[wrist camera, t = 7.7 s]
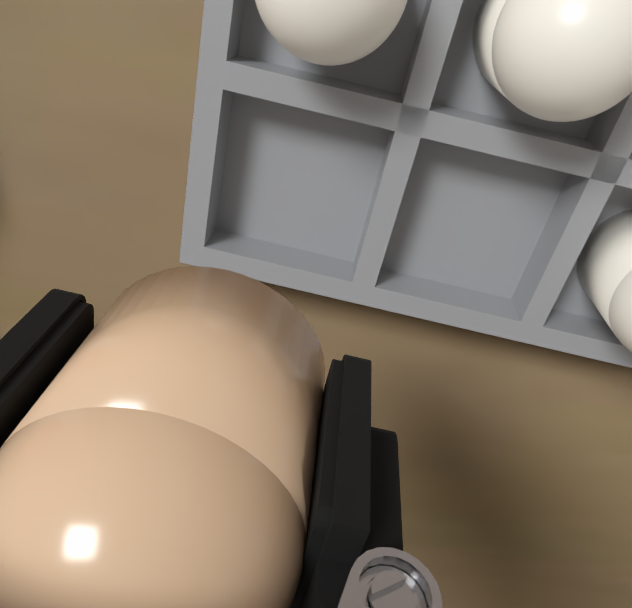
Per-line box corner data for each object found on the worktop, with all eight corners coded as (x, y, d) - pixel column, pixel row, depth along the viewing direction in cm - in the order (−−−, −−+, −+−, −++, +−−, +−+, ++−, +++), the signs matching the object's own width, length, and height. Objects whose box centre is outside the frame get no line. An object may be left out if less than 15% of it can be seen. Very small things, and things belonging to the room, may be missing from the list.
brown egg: (349, 297, 11) (326, 643, 5) (301, 468, 13) (250, 825, 8) (101, 241, 10) (-196, 536, 5) (99, 425, 13) (-100, 756, 7)
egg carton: (909, -24, 19) (1170, -28, 13) (665, 345, 28) (752, 453, 21) (246, -194, 19) (179, -285, 12) (198, 235, 27) (143, 313, 21)
